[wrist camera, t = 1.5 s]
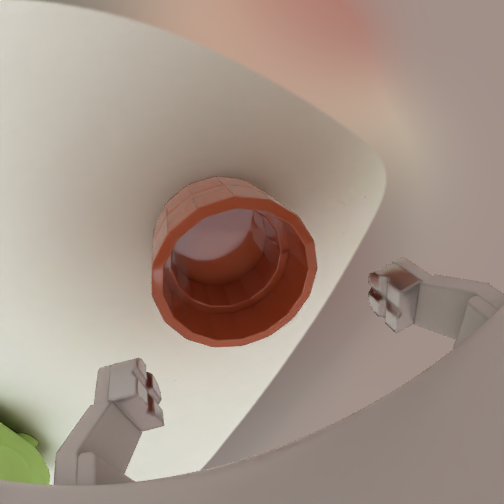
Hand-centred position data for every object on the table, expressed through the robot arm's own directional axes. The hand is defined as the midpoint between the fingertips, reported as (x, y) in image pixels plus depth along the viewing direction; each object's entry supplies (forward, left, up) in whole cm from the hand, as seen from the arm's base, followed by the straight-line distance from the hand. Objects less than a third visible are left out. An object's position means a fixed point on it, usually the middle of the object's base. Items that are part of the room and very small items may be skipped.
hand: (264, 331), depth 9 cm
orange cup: (0, 0, -7) cm, 7 cm away
